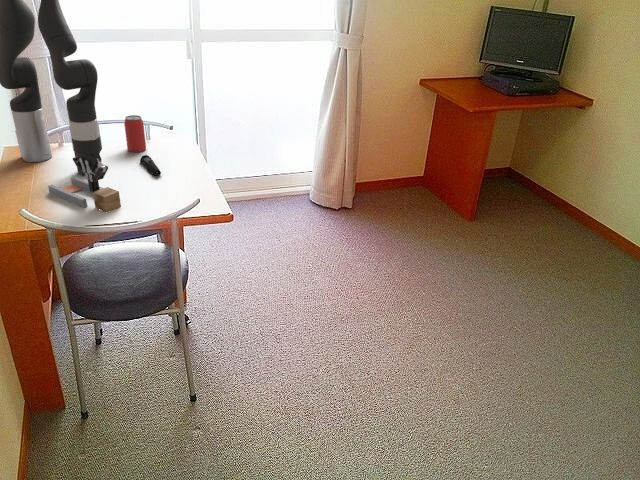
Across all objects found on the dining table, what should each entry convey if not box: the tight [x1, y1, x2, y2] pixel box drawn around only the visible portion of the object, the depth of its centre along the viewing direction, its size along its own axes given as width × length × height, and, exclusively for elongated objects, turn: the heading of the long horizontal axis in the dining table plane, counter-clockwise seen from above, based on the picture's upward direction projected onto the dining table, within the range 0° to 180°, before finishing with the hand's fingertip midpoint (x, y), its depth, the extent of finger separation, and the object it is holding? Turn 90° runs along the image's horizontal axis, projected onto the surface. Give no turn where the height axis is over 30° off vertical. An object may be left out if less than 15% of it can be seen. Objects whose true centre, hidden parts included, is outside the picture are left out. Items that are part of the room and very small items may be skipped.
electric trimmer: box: [139, 154, 162, 176], centre depth 184 cm, size 4×16×3 cm, turn 32°
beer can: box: [123, 114, 147, 153], centre depth 196 cm, size 7×7×12 cm
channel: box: [47, 176, 104, 209], centre depth 163 cm, size 16×9×2 cm, turn 58°
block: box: [92, 186, 122, 213], centre depth 157 cm, size 5×5×5 cm
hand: (94, 191), depth 159 cm, fingers closed
